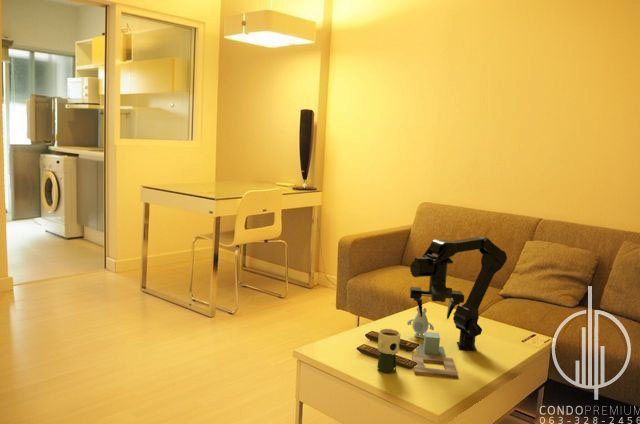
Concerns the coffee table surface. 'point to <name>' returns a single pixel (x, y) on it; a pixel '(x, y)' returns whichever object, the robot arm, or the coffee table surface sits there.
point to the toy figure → (420, 323)
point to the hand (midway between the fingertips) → (434, 317)
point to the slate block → (431, 343)
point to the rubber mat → (421, 352)
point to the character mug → (388, 349)
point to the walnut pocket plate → (448, 372)
